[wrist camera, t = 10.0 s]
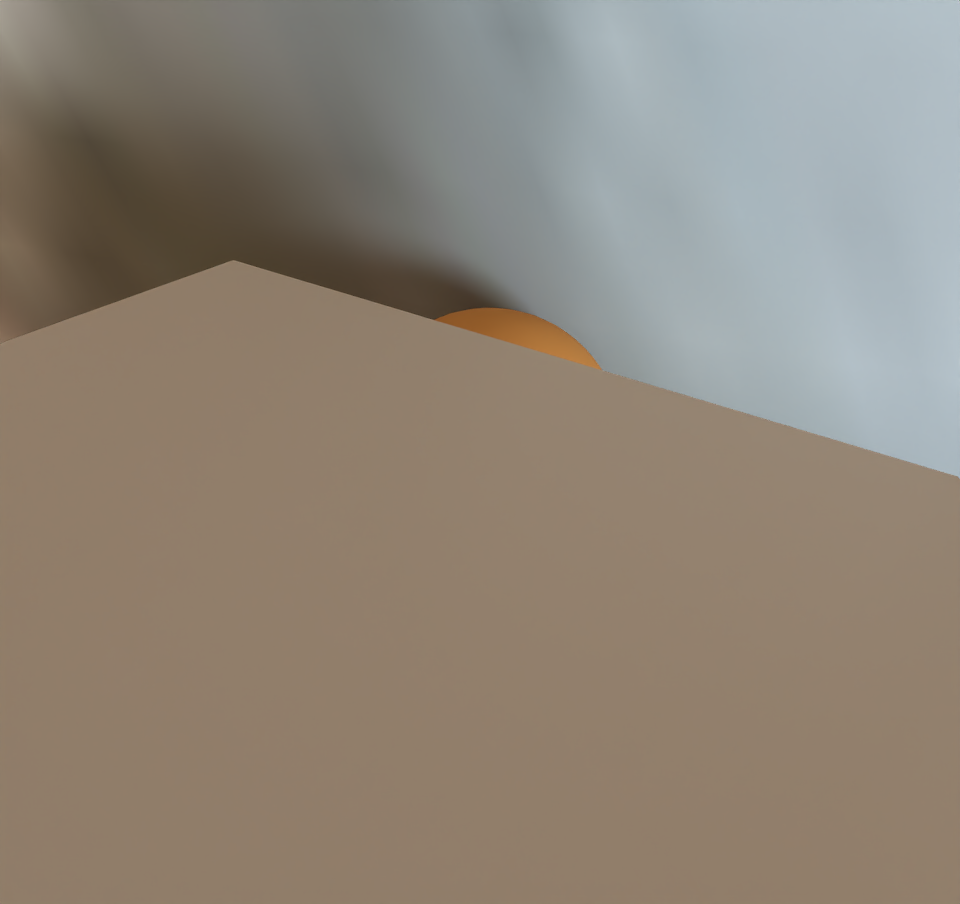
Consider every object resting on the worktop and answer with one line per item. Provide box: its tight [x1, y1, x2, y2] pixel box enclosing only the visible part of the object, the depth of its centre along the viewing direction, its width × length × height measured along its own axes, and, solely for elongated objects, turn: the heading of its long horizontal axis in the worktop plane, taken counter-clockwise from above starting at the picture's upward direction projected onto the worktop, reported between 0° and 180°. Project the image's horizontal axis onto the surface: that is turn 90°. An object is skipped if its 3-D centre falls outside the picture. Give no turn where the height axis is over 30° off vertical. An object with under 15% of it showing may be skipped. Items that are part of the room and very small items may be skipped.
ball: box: [435, 308, 602, 370], centre depth 16 cm, size 5×5×5 cm
